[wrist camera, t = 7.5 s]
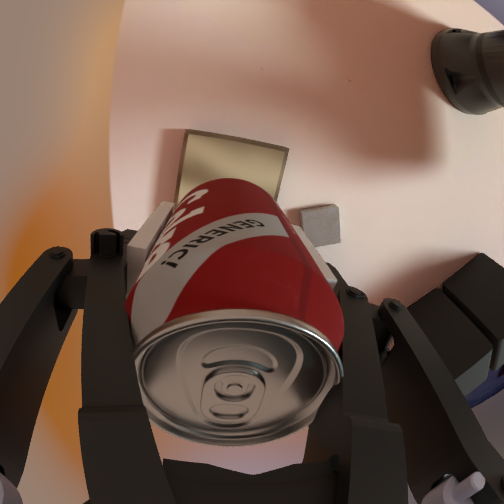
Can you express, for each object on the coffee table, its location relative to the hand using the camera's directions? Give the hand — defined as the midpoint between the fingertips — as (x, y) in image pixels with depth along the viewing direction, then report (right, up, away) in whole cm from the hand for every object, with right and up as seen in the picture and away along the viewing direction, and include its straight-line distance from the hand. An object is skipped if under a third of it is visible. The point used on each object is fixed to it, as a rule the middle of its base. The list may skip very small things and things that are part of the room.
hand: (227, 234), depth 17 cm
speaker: (+40, -11, +30) cm, 51 cm away
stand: (-2, +8, +18) cm, 20 cm away
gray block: (+10, +3, +22) cm, 24 cm away
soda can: (0, 0, +1) cm, 1 cm away
